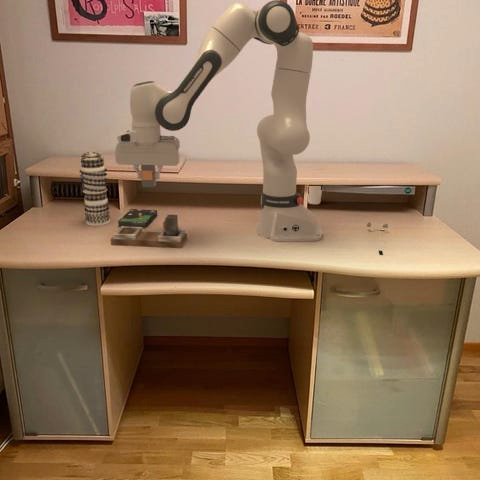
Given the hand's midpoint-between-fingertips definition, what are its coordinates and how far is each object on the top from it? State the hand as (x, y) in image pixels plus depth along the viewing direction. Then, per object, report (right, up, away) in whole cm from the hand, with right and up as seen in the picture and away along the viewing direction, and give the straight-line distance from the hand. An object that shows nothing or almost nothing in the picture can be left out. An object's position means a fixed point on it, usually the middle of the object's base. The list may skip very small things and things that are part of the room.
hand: (148, 178), depth 155 cm
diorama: (+76, -21, +5) cm, 79 cm away
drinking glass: (+61, -5, +44) cm, 75 cm away
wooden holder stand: (0, -21, 0) cm, 21 cm away
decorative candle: (-22, -14, +18) cm, 31 cm away
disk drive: (-7, -14, +20) cm, 25 cm away
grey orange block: (0, -2, +1) cm, 2 cm away
